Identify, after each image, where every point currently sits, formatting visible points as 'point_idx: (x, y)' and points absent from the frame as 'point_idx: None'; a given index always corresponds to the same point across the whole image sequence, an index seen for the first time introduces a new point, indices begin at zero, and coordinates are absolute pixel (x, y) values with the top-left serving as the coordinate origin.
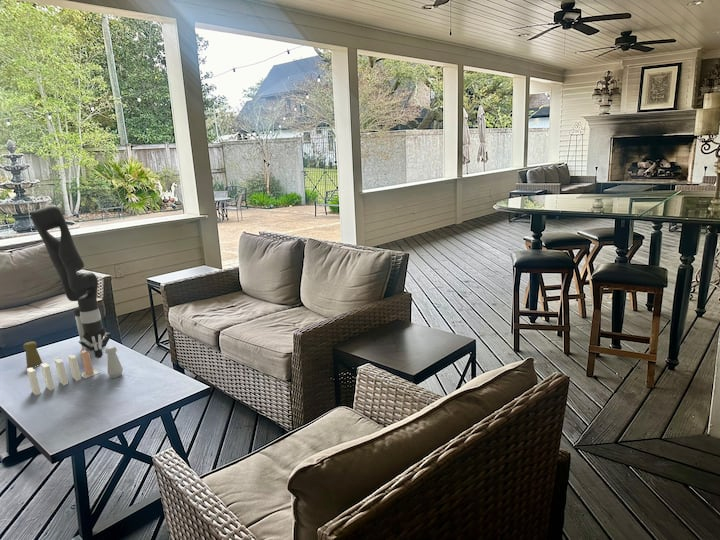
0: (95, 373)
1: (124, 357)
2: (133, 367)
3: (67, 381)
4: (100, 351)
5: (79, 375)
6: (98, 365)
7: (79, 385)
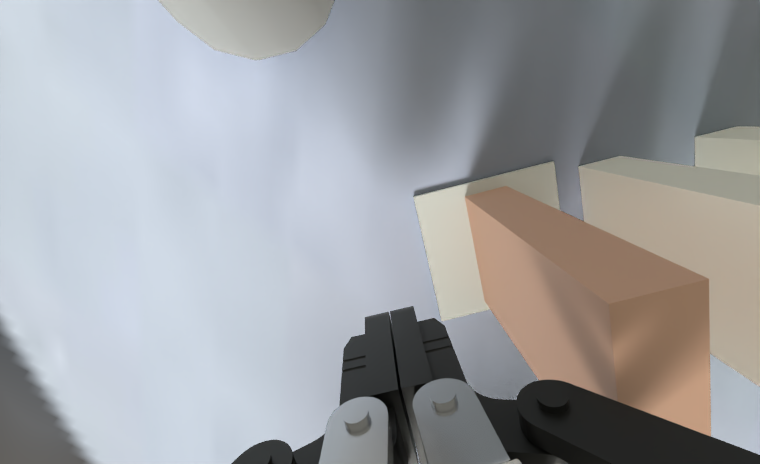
0: (449, 206)
1: (176, 422)
2: (78, 100)
3: (720, 137)
4: (367, 373)
5: (614, 170)
6: None
7: (629, 3)
